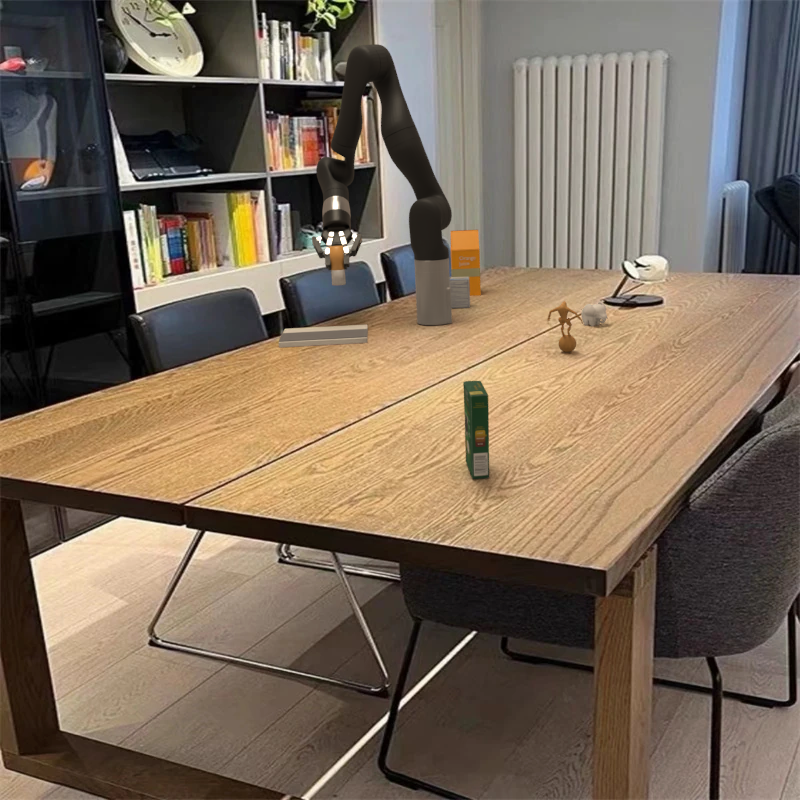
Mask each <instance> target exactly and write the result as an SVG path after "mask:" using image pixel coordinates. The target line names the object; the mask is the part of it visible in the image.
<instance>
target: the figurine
mask: <svg viewBox="0 0 800 800" xmlns="http://www.w3.org/2000/svg"><path fill="white" fill-rule="evenodd" d="M555 312H557V314H559V316H560V317H558V322H559V324H560V325H561V327H560V332H561V335H562V336H561V337H560V339H559V340H558V347H559V349H560V350H561V351H562V352H563V353H571V352H573V351H574V350H575V349H576V347H577V340H576V338H575V337H574V336H573V335H572V334H571V333H570V331H571V328H572V325H573V324H572V322H571V318H570V317H568V314H569V313H570V314H573V315H575V316H576V318H577V319H579V321H581V323H582V324H583V325H584V323H583V320H582V317H581V316H580V315H578V313H577V312H576V311H574V310H572V309H571V308H569V307H568V305H567V302H566V301H562V302H561V304H560V305H559V306H557V307H555V308H553V309H551V310H550V311H549V312H548V316H547V322H550V321H551V316H552V313H555ZM565 323H566V325H567V326H568V327H567V329H566V330H567V331H566V332H567V334H566V333H565V332H564V330H565Z"/></svg>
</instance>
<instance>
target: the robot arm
mask: <svg viewBox="0 0 800 800" xmlns="http://www.w3.org/2000/svg"><path fill="white" fill-rule="evenodd" d="M368 83H373V85H374V88H375V90H376V93H377V95H378V98H379V101H380V108H381V109H380V110H381V115H380V132H381V136H382V140H383V141H382V142H383V143H384V145H385V147H386V148H385V149H386V151H387V153H388V155H389V157H390V159H391V161H392V162H393V164H394V165H395V167H396V168H397V169H398V170H399V171H400V173H401V174H402V176H403V177H404V178H405V179H406V180H407V181H408V183H409V185H410V187H411V188H412V190H413V192H414V195H415V198H416V201H414V202H413V204H412V205H410V208H409V212H408V227H409V238H410V247H411V250H412V252H413V256H414V257H413V259H414V261H413V262H414V279H415V285H414V286H415V301H416V304H415V305H416V307H415V308H416V323H417V324H419V325H423V326H440V325H446V324H452V323H453V321H452V320H453V319H452V317H453V316H452V308H451V288H450V277H451V275H450V251H449V247H448V246H447V245H445V244H444V241H443V235H442V234H443V233H442V231H444V230H445V229H447V228H448V227H449V225H450V224H451V221H452V217H453V216H452V214H453V213H452V208H451V205H450V203H449V201H448V199H447V197H446V195H445V193H444V191H443V189H442V187H441V186H440V184H439V181H438V180H437V178H436V175H435V172H434V170H433V167H432V165H431V162H430V159H429V157H428V155H427V152H426V149H425V147H424V144H423V141H422V139H421V137H420V134H419V131H418V129H417V126H416V124H415V122H414V121H415V120H414V119H413V117H412V114H411V112H410V111H411V110H410V109H409V106H408V103H407V101H406V97H405V95H404V93H403V90H402V87H401V83H400V79H399V76H398V72H397V69H396V65H395V62H394V60H393V57H392V55H391V52H390V51H389V49H388V48H386V47H385V46H384V45H382V44H378V43H377V44H362V45H361V44H360V45H357V46H355V47H353V48H352V49H351V51H350V52H349V54H348V56H347V61H346V65H345V73H344V81H343V88H342V94H341V95H342V96H341V104H340V110H339V115H338V118H337V120H336V124H335V128H334V131H333V135H332V139H331V142H330V148H331V150H332V151H333V152H334V153H336V154H337V155H339V156H341V157H343V158H344V159H343V160H342V159H338V158H334V157H330V156H324V157H322V158H320V160H318V162H317V164H316V169H315V170H316V171H315V173H316V178H317V181H318V183H319V187H320V189H321V192H322V197H323V198H322V199H323V200H322V201H323V205H322V232H321V234H320V236H317V237H316V236H315V235H314V236H311V242H312V246H313V248H314V250H315V251H316V254H317V256H318V258H319V259H324V262H325V263H324V264H325V268H326V269H327V270H328V271H331V262H330V250H329V247H330V246H343V252H344V269H345V270H348V268H349V267H350V264H351V263H350V258H351V257H356V256H357V254H358V252H359V250H360V247H361V245H362V242H363V236H362V234H361V233H358V234H353V232H352V227H351V226H352V225H351V217H352V214H351V207H350V203H349V202H350V198H349V197H350V194H349V192H350V191H349V188H348V186H351V184H352V183H353V181H354V178H355V160H356V159H355V158H356V152H357V147H358V145H359V141H360V138H361V135H362V132H363V120H364V119H363V114H362V100H363V95H364V92H365V90H366V88H367V86H368ZM351 241H352V242H353V243H352V246H351V248H350V249H349V246H348V245H349V244H350V242H351ZM322 242H323V243H324V244H325V246H326V247H325V250H323V248H322V247H321V245H322Z"/></svg>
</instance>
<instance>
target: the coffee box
mask: <svg viewBox="0 0 800 800" xmlns="http://www.w3.org/2000/svg"><path fill="white" fill-rule="evenodd" d="M463 407H464V408H463V409H464V410H463V411H464V440H465V442H464V443H465V444H464V445H465V462H466V463H465V464H466V466H467V469H468V470H469V474H470V476H471V479H472V480H479V479H480V480H481V479H483V480H484V479H485V480H486V479H490V438H489V437H490V436H489V435H490V434H489V432H490V429H489V427H490V426H489V425H490V424H489V423H490V422H489V421H490V420H489V415H490V414H489V394H488V392H487V391H486V388H485V387H484V384H483V382H482V380H466V381H463Z"/></svg>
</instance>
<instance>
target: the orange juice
mask: <svg viewBox="0 0 800 800" xmlns="http://www.w3.org/2000/svg"><path fill="white" fill-rule="evenodd" d="M479 235H480V234H479V229H463V230H461V229H460V230H458V229H457V230H450V274H451V275H450V277H469V285H470V297H474V296H481V293H482V292H481V291H482V290H481V289H482V288H481V261H480V260H481V258H480V257H481V254H480V253H481V252H480V241H479V239H480V237H479Z"/></svg>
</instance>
